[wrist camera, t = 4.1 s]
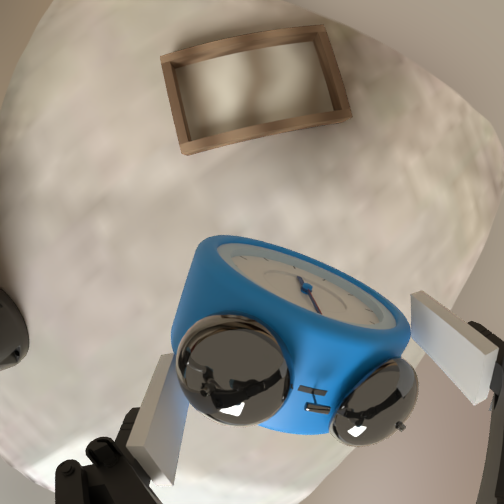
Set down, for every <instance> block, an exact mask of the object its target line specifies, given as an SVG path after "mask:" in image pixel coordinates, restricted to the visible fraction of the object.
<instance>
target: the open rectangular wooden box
mask: <svg viewBox="0 0 504 504" xmlns="http://www.w3.org/2000/svg"><path fill="white" fill-rule="evenodd" d="M160 60H161V65H162V70H163V74H164V79H165V84H166V88H167V93H168V97H169V102H170V106H171V111H172V115H173V120H174V124H175V128H176V132H177V137H178V141H179V145H180V149H181V153H182V154H184V155H187V156H189V155H192V154H196V153H199V152H203V151H207V150H210V149H214V148H218V147H222V146H226V145H230V144H234V143H238V142H242V141H247V140H251V139H255V138H260V137H264V136H269V135H274V134H279V133H284V132H289V131H294V130H299V129H305V128H310V127H316V126H322V125H328V124H334V123H341V122H344V121H346V120H348V119H350V118H352V113H351V109H350V106H349V102H348V98H347V95H346V91H345V88H344V84H343V81H342V78H341V74H340V71H339V68H338V65H337V62H336V59H335V56H334V53H333V50H332V47H331V44H330V41H329V38H328V35H327V32H326V30H325V27H324V25H313V26H302V27H292V28H284V29H277V30H270V31H263V32H257V33H251V34H246V35H241V36H236V37H231V38H226V39H222V40H217V41H213V42H209V43H205V44H201V45H197V46H193V47H190V48H186V49H183V50H179V51H176V52H173V53H169V54H166V55H163V56H160Z"/></svg>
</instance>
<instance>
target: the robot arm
mask: <svg viewBox="0 0 504 504" xmlns="http://www.w3.org/2000/svg"><path fill="white" fill-rule="evenodd" d="M411 337H412V338H413V339H414V341H415V342H416V343H417V344H418V345H419V346H420V347H421V348H422V349H423V350H424V351H425V352H426V353H427V354H428V355H429V356H430V357H431V358H432V359H433V360H434V362H435V363H436V364H437V365H438V366H439V367H440V368H441V369H442V370H443V371H444V373H445V374H446V375H447V376H448V377H449V378H450V379H451V380H452V381H453V382H454V384H456V386H457V387H458V388H459V389H460V390H461V391H462V392H463V393H464V394H465V396H466V397H467V398H468V399H469V400H470V402H471V403H472V404H473V405H474V406H475V405H476V404H478V403H480V402H481V401H483V400H485V399H487V396H488V393H489V389H491V390H492V391H493V392H494V396H493V399H492V402H491V405H490V409H489V410H490V411H491V409H492V414H491V424H490V433H489V441H488V448H487V454H486V461H485V466H484V471H483V476H482V481H481V485H480V490H479V494H478V498H477V502H476V504H504V341H502V340H501V339H500V338H498V337H497V336H496V335H494V334H492V332H490V331H489V330H487V329H486V328H485V327H484V326H482V325H481V324H479V323H476V322H473V321H470V322H468V323H466V322H465V321H463V320H462V319H461V318H459V317H458V316H457V315H455V314H454V313H453V312H451V311H450V310H449V309H447V308H446V307H445V306H443V305H442V304H440V303H439V302H438V301H436V300H435V299H433V298H432V297H431V296H429V295H428V294H426V293H425V292H424V291H419V292H416V293H413V294H411ZM28 347H29V339H28V333H27V329H26V326H25V323H24V320H23V318H22V316H21V314H20V312H19V310H18V308H17V307H16V305H15V304H14V302H13V301H12V300H11V299H10V297H9V296H8V295H7V294H6V293H5V292H4V291H3V290H1V289H0V371H1V370H4V369H7V368H10V367H13V366H15V365H17V364H18V363H19V362H20V361H21V360H22V359H23V358H24V357H25V356H26V354H27V352H28ZM188 406H189V401H188V400H187V398H186V397H185V395H184V394H183V392H182V390H181V388H180V385H179V382H178V379H177V374H176V356H175V353H171V354H165V355H161V357H160V359H159V362H158V364H157V366H156V369H155V371H154V374H153V376H152V379H151V381H150V384H149V386H148V389H147V392H146V394H145V397H144V399H143V402H142V404H141V407H138V408H132V409H131V410H130V411H129V412H128V413H127V414H126V416H125V418H124V421H123V424H122V425H121V428H120V431H119V433H118V435H117V437H116V440H115V442H114V441H113V440H112V439H111V438H109V437H99V438H97V439H94V440H93V441H91V442H90V443H89V444H88V446H87V448H86V450H85V451H86V455H87V457H88V458H89V459H90V460H91V462H92V463H93V464H92V465H87V466H81V465H80V463H79V462H77V461H76V460H73V459H72V460H66V461H64V462H62V463H61V464H60V465H59V466H58V467H57V469H56V472H55V500H56V501H55V504H162V502H161V501H160V500H159V498H158V497H157V496H156V495H155V493H154V492H153V491H152V489H151V488H150V487H149V484H150V480H152V481H153V482H154V484H155V485H156V486H173V485H174V480H175V474H176V469H177V463H178V458H179V452H180V447H181V442H182V437H183V431H184V426H185V421H186V416H187V411H188Z"/></svg>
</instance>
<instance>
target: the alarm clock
mask: <svg viewBox="0 0 504 504" xmlns="http://www.w3.org/2000/svg"><path fill="white" fill-rule="evenodd" d="M410 336H411V330H410V325H409V323H408V321H407V319H406V317H405V316H404V315H403V313H402V312H401V311H400V310H399V309H398V308H397V307H396V306H395V305H394V304H392V303H391V302H390V301H389V300H387V299H386V298H385V297H383V296H382V295H381V294H379V293H378V292H376V291H375V290H373V289H372V288H370V287H368V286H367V285H365V284H363V283H362V282H360V281H358V280H356V279H355V278H353V277H351V276H349V275H347V274H345V273H343V272H341V271H339V270H337V269H335V268H333V267H331V266H329V265H327V264H324V263H322V262H320V261H317V260H315V259H313V258H310V257H308V256H305V255H303V254H300V253H297V252H295V251H292V250H289V249H286V248H283V247H280V246H277V245H273V244H270V243H266V242H263V241H259V240H255V239H250V238H245V237H239V236H230V235H218V236H213V237H209V238H206V239H205V240H203V241H202V242H201V243H200V244H199V245H198V247H197V249H196V251H195V254H194V258H193V261H192V264H191V267H190V270H189V273H188V276H187V279H186V283H185V286H184V289H183V292H182V295H181V299H180V302H179V305H178V309H177V312H176V315H175V319H174V322H173V325H172V330H171V344H172V349H173V352H174V353H175V356H176V374H177V379H178V382H179V385H180V388H181V390H182V392H183V394H184V395H185V397H186V398H187V400H188V401H189V402H190V404H191V405H192V406H193V407H194V408H195V409H196V410H197V411H198V412H199V413H201V414H202V415H203V416H204V417H206V418H208V419H210V420H211V421H213V422H216V423H218V424H221V425H225V426H230V427H250V426H255V425H259V426H262V427H265V428H268V429H271V430H276V431H280V432H285V433H292V434H302V435H315V434H324V433H330V434H331V435H332V436H333V437H334V438H335V439H336V440H337V441H339V442H340V443H342V444H345V445H347V446H352V447H365V446H370V445H374V444H377V443H379V442H381V441H383V440H385V439H387V438H389V437H390V436H392V435H393V434H394V433H395V432H396V431H397V430H400V431H401V432H402V431H403V430H404V429H405V428H406V426H405V425H404V423H405V422H406V421H407V419H408V418H409V417H410V415H411V413H412V411H413V409H414V407H415V405H416V401H417V397H418V392H419V391H418V390H419V382H418V377H417V374H416V372H415V370H414V368H413V366H412V365H411V364H410V363H409V362H408V361H407V360H405V359H404V358H402V357H401V355H402V353H403V351H404V349H405V348H406V346H407V344H408V342H409V339H410Z"/></svg>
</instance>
